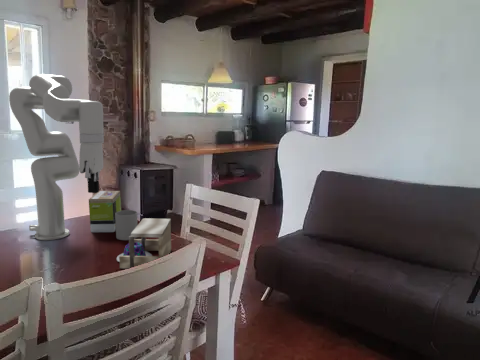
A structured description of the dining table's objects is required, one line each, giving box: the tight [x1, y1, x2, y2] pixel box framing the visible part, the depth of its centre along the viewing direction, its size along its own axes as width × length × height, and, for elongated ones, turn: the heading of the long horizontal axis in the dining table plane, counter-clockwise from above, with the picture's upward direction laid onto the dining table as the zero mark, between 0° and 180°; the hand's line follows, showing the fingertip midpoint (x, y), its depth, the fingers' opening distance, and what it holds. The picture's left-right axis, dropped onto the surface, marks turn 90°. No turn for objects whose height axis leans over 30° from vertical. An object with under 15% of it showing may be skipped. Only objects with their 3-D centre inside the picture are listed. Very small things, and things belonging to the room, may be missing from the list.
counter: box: [118, 217, 172, 269], centre depth 133 cm, size 14×18×12 cm
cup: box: [115, 209, 139, 241], centre depth 155 cm, size 8×8×10 cm
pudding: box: [116, 242, 153, 262], centre depth 134 cm, size 12×12×5 cm
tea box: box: [88, 190, 122, 233], centre depth 166 cm, size 15×10×15 cm, turn 5°
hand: (93, 192), depth 132 cm, fingers closed
